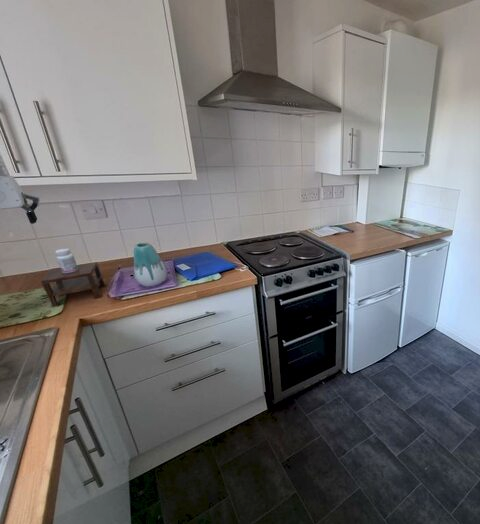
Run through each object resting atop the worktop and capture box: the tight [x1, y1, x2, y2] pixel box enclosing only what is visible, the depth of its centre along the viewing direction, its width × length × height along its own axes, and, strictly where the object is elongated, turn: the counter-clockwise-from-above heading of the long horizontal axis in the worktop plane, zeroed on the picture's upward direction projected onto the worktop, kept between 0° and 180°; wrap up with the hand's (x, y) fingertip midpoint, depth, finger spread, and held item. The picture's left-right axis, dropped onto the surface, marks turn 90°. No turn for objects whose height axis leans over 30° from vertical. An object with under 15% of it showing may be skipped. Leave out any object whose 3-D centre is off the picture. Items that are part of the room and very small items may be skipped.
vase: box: [133, 242, 168, 288], centre depth 124 cm, size 12×12×18 cm
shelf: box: [40, 261, 106, 307], centre depth 116 cm, size 14×12×11 cm
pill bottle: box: [54, 248, 78, 273], centre depth 112 cm, size 5×5×8 cm
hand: (14, 224), depth 102 cm, fingers open, 9 cm apart
